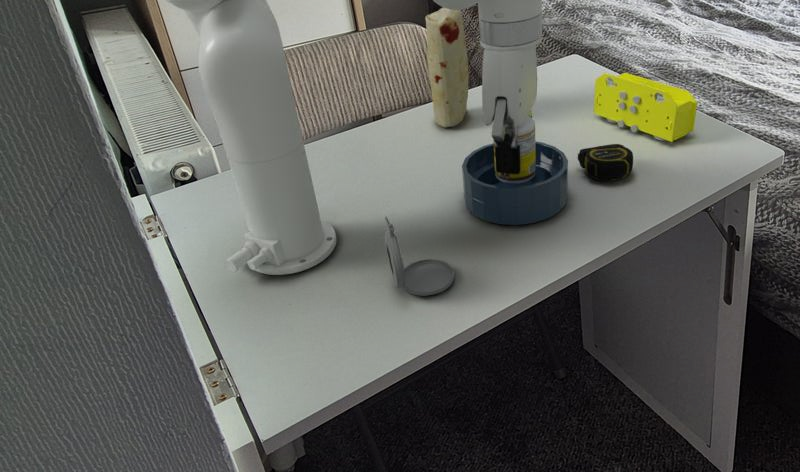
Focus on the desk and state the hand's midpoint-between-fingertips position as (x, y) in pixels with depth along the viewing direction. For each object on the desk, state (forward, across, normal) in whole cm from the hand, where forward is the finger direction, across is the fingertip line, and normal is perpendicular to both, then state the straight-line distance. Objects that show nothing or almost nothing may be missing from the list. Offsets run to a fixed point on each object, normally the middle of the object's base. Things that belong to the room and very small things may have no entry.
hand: (514, 160), depth 89 cm
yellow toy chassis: (+7, -27, +14) cm, 31 cm away
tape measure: (+7, -10, +10) cm, 16 cm away
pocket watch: (+7, +21, -6) cm, 23 cm away
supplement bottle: (+3, 0, 0) cm, 3 cm away
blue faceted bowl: (+6, 0, 0) cm, 6 cm away
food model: (+7, -24, -19) cm, 31 cm away
